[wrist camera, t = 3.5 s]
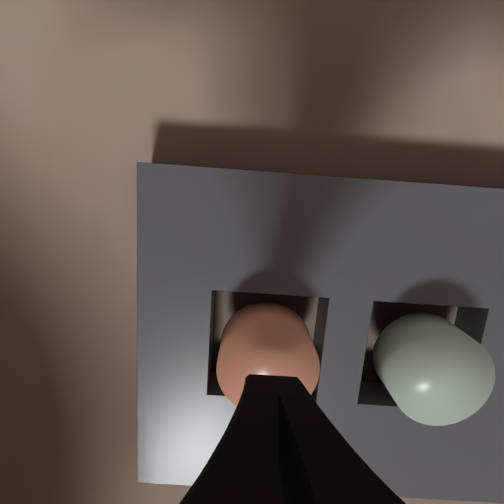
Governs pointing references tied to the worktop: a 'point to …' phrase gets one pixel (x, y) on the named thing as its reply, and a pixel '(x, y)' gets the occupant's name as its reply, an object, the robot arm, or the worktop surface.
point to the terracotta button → (265, 348)
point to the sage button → (433, 369)
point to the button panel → (328, 313)
